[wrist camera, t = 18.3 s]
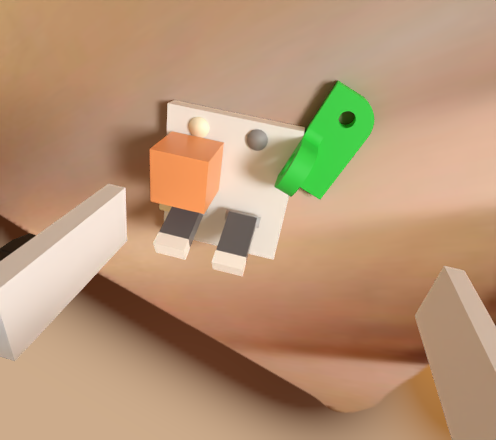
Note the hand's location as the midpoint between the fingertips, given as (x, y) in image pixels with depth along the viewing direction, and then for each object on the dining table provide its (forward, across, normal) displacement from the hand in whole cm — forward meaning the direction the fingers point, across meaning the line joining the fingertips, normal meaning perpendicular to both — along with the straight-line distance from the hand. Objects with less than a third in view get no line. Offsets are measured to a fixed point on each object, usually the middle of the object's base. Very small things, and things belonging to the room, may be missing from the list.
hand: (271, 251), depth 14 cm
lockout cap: (+26, -12, -8) cm, 30 cm away
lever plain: (+25, -5, -14) cm, 29 cm away
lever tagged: (+25, -12, -14) cm, 31 cm away
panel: (+28, -8, -11) cm, 32 cm away
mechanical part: (+29, +3, -3) cm, 30 cm away
